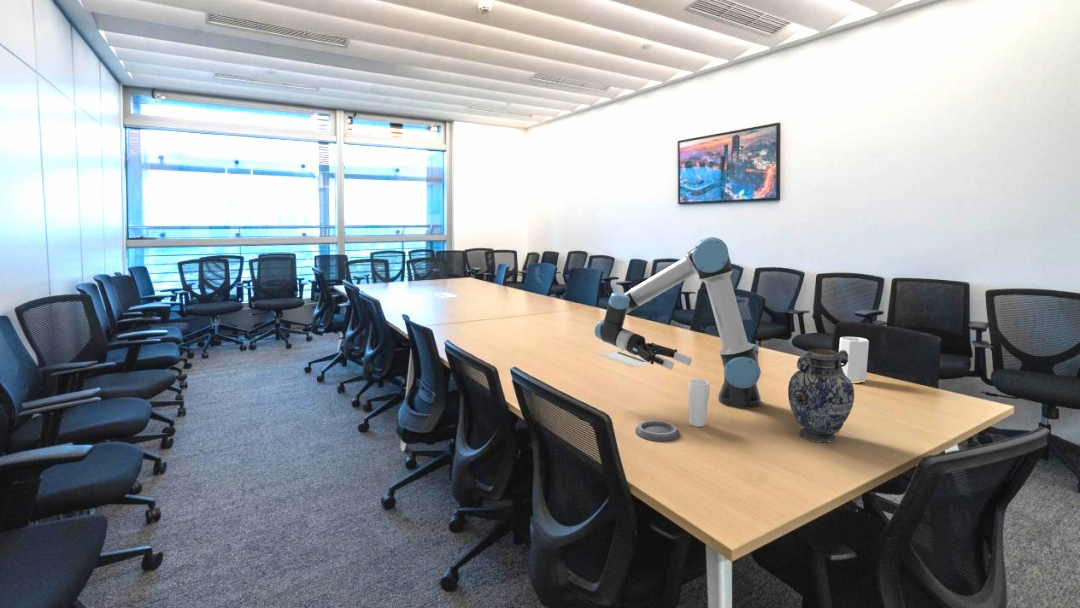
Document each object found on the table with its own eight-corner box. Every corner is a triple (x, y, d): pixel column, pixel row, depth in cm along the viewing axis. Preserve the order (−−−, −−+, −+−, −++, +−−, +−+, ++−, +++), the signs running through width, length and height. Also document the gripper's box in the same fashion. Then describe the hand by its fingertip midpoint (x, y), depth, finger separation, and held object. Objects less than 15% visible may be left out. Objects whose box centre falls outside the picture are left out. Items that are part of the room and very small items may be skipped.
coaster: (680, 428, 178) (681, 422, 178) (677, 443, 165) (677, 437, 164) (638, 423, 182) (639, 417, 182) (632, 438, 169) (632, 432, 169)
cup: (871, 384, 227) (875, 341, 225) (845, 384, 228) (848, 341, 225) (856, 376, 238) (859, 336, 236) (831, 376, 239) (834, 336, 236)
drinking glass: (697, 429, 176) (698, 385, 174) (682, 423, 182) (684, 380, 180) (712, 426, 179) (713, 383, 177) (697, 419, 185) (699, 378, 183)
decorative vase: (819, 452, 158) (825, 360, 154) (769, 431, 175) (774, 348, 171) (867, 441, 166) (874, 353, 163) (816, 422, 183) (821, 342, 180)
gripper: (645, 349, 208) (694, 370, 195) (610, 354, 190) (661, 378, 176) (650, 331, 207) (700, 351, 194) (615, 335, 188) (667, 357, 175)
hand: (681, 364), depth 185 cm, fingers open, 13 cm apart
